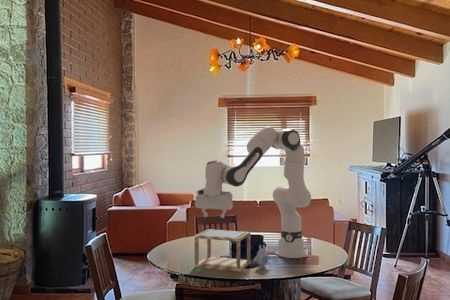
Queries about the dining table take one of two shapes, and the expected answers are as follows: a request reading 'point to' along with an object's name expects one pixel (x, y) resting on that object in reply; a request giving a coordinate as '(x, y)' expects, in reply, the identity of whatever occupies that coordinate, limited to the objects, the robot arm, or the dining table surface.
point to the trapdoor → (223, 234)
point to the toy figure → (262, 257)
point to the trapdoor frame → (218, 261)
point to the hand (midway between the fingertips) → (214, 217)
